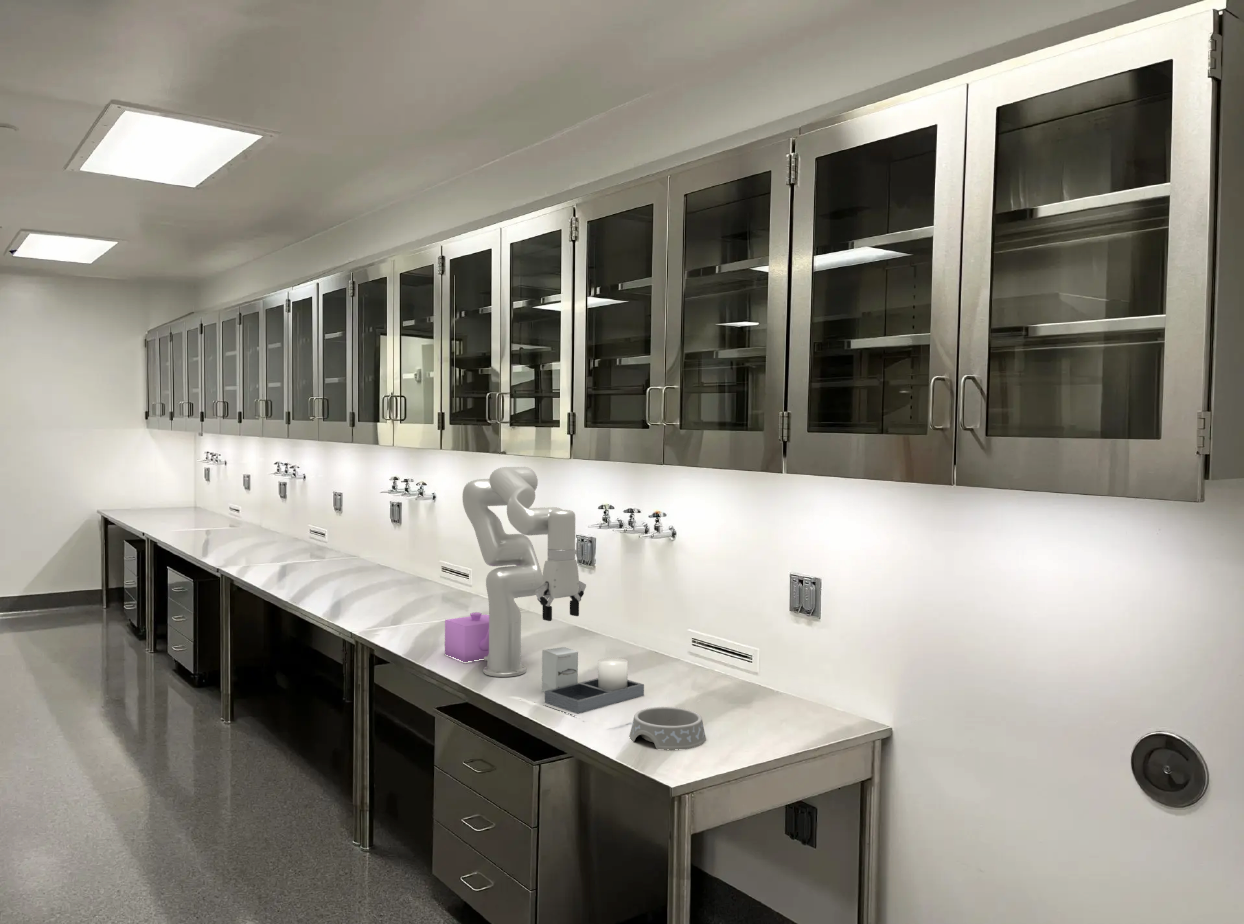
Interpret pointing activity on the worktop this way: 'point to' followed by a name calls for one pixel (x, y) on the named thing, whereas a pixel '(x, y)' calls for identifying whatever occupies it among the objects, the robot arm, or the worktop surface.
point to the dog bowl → (669, 727)
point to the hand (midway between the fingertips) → (560, 617)
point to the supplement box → (559, 668)
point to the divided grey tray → (590, 696)
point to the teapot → (467, 637)
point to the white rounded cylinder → (612, 674)
